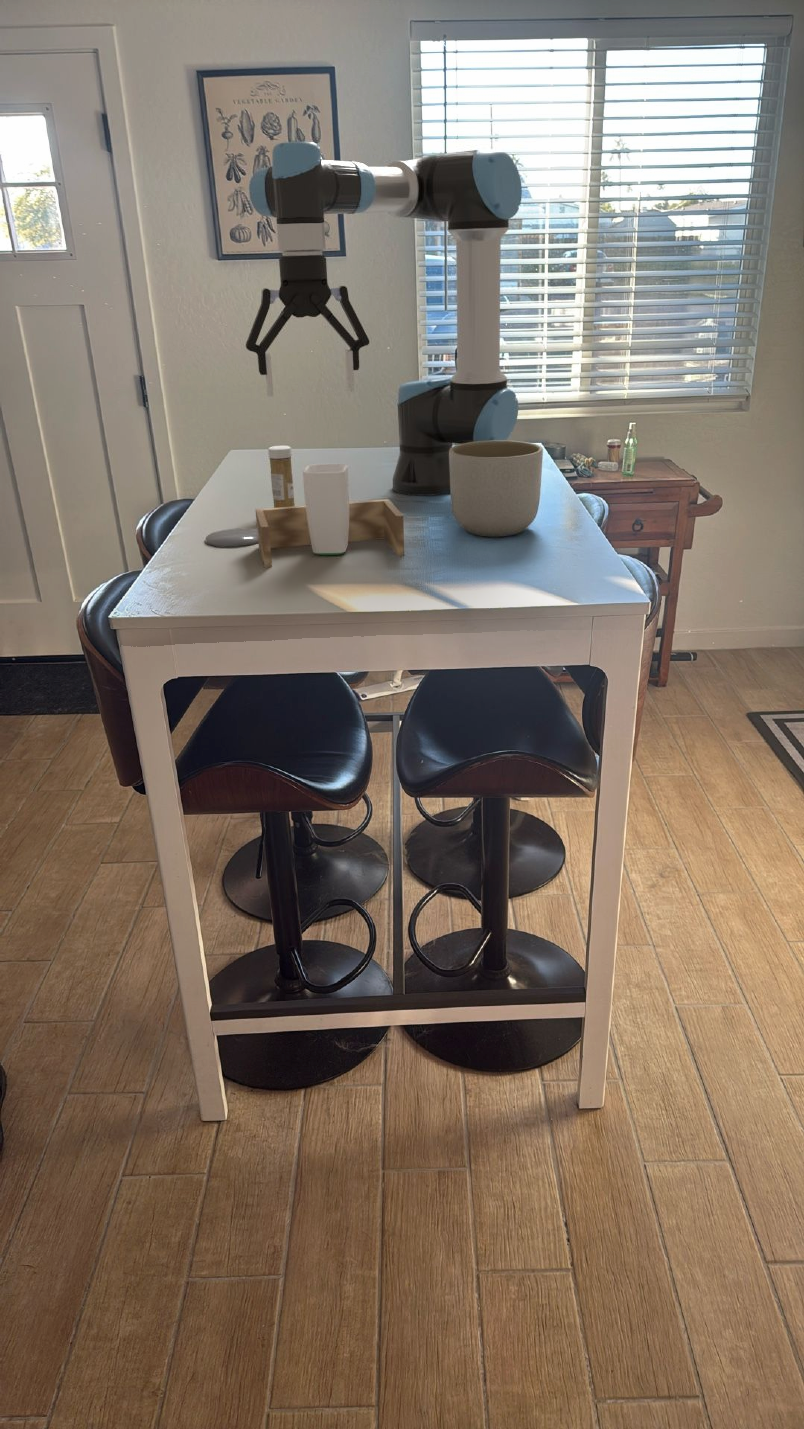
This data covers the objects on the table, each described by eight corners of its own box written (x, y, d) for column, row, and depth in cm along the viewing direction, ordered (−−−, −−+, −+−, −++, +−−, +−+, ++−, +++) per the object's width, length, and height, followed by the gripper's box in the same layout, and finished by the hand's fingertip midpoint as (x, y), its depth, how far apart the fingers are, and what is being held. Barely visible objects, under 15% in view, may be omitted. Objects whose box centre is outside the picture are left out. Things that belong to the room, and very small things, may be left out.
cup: (307, 558, 174) (301, 472, 168) (313, 546, 181) (307, 464, 174) (348, 557, 174) (343, 472, 167) (353, 546, 180) (348, 463, 174)
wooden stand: (389, 536, 186) (388, 499, 183) (404, 555, 174) (403, 515, 171) (258, 547, 181) (255, 509, 178) (264, 567, 170) (261, 527, 167)
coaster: (262, 529, 193) (262, 526, 192) (267, 544, 183) (267, 541, 183) (205, 534, 191) (204, 531, 190) (207, 549, 181) (206, 546, 181)
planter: (548, 522, 192) (551, 441, 185) (529, 545, 177) (531, 459, 171) (463, 517, 197) (463, 438, 191) (438, 539, 183) (437, 455, 176)
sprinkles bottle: (299, 514, 203) (294, 447, 197) (279, 517, 201) (274, 450, 195) (289, 509, 207) (284, 443, 201) (269, 513, 204) (264, 446, 199)
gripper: (374, 252, 164) (379, 386, 173) (221, 256, 159) (234, 394, 168) (383, 251, 157) (388, 392, 166) (224, 256, 152) (237, 400, 161)
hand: (310, 393), depth 167 cm, fingers open, 13 cm apart
